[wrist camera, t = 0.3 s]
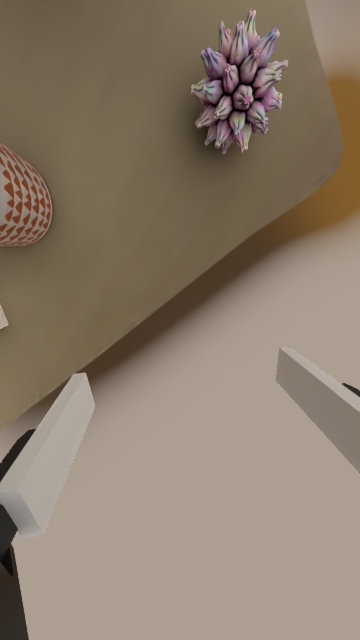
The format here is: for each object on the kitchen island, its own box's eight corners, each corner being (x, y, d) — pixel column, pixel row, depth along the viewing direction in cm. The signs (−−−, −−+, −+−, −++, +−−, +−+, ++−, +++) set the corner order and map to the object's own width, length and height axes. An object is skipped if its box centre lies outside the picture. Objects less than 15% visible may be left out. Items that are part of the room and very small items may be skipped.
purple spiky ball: (271, 96, 31) (336, 8, 20) (238, 180, 34) (277, 147, 23) (203, 53, 28) (233, -75, 17) (175, 149, 32) (184, 94, 20)
